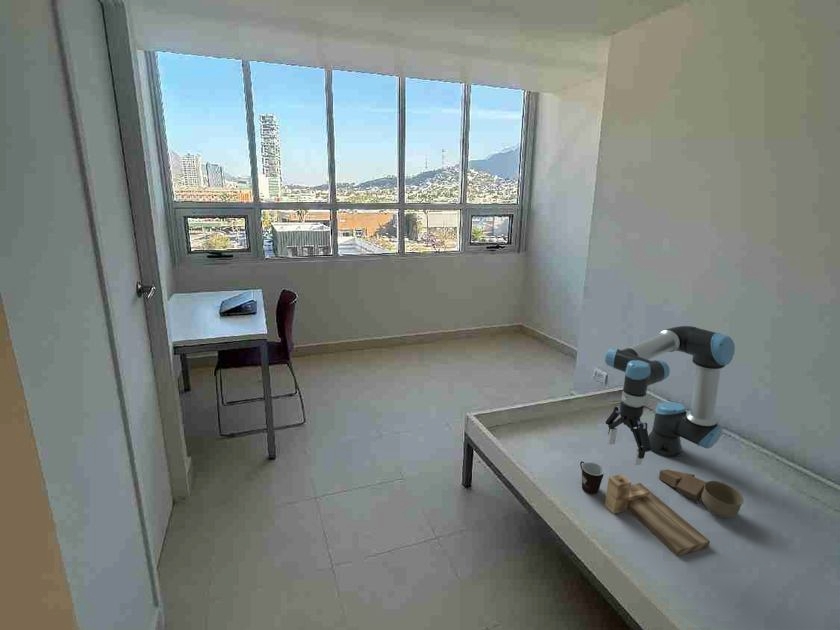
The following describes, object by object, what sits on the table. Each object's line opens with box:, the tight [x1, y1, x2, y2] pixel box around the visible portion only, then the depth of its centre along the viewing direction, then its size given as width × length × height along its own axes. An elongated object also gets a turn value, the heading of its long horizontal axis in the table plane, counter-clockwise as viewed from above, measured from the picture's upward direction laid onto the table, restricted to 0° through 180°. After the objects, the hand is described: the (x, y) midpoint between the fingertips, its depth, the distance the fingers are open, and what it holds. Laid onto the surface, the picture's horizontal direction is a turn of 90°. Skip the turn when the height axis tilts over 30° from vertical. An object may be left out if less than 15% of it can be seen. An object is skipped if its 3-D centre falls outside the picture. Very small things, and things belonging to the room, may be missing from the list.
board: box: [626, 482, 711, 557], centre depth 163 cm, size 14×32×2 cm, turn 17°
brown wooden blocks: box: [658, 469, 707, 503], centre depth 180 cm, size 8×13×18 cm
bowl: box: [701, 480, 744, 518], centre depth 165 cm, size 13×13×10 cm
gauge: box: [604, 473, 649, 514], centre depth 168 cm, size 18×5×14 cm, turn 107°
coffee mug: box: [579, 461, 605, 495], centre depth 179 cm, size 12×9×10 cm
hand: (623, 453), depth 162 cm, fingers open, 13 cm apart
